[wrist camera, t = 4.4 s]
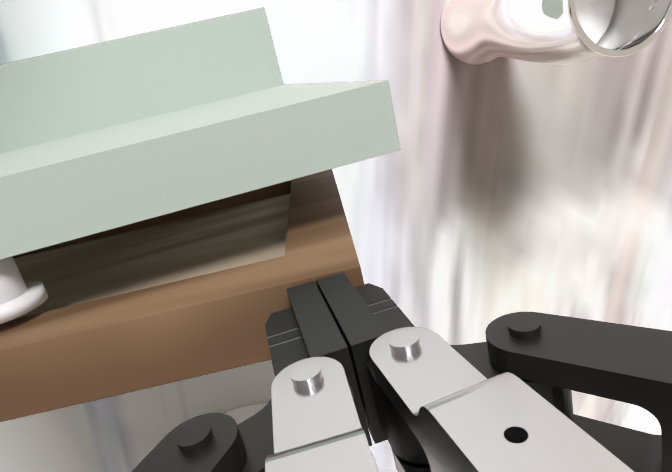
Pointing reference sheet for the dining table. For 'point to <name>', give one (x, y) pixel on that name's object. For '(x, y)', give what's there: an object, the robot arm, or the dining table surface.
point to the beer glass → (551, 29)
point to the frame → (169, 295)
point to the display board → (163, 133)
